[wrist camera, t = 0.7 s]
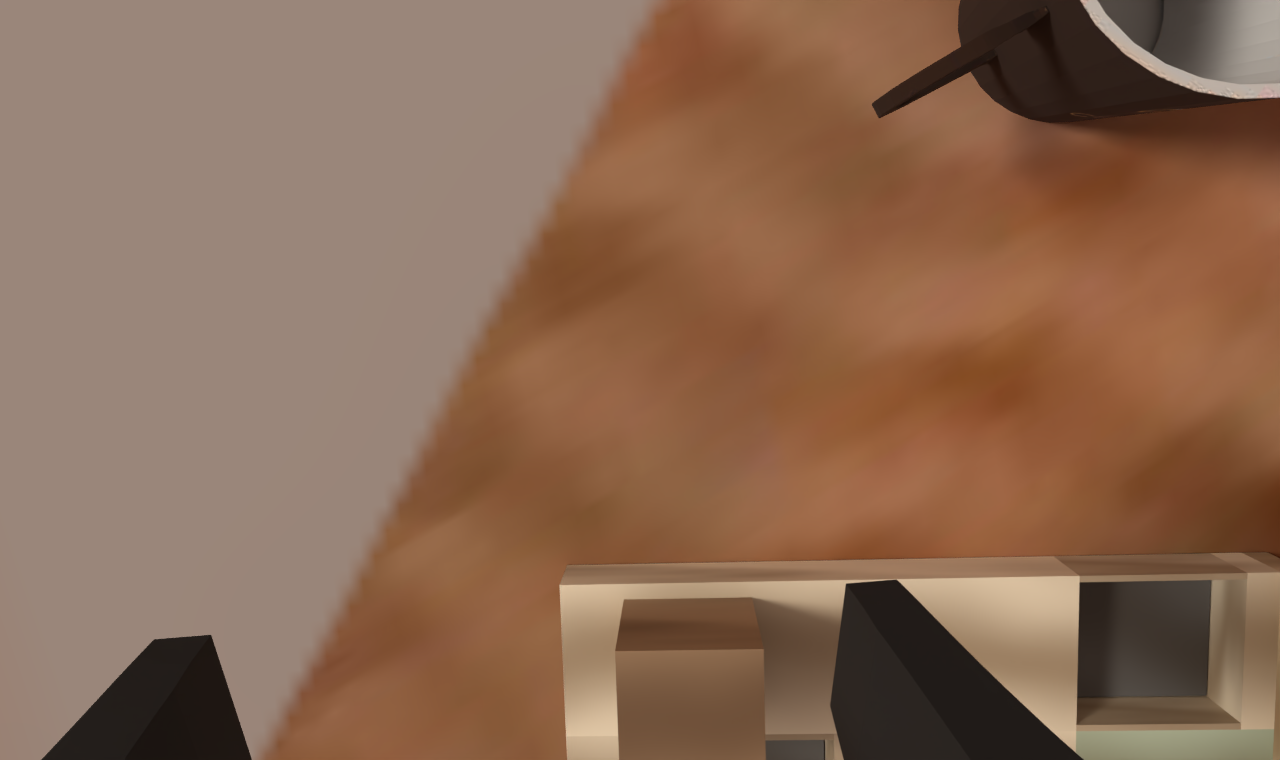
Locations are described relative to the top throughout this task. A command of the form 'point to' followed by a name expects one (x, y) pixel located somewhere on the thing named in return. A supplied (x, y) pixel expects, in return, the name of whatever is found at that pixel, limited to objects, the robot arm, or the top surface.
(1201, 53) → the black cup
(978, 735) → the robot arm
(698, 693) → the walnut block
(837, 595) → the birch tray
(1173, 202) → the top surface
